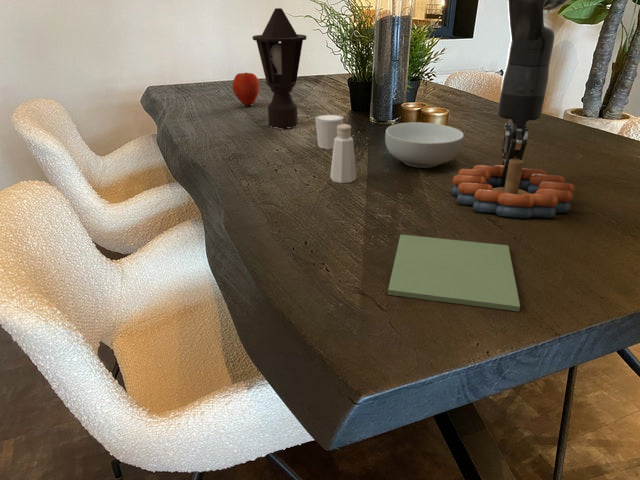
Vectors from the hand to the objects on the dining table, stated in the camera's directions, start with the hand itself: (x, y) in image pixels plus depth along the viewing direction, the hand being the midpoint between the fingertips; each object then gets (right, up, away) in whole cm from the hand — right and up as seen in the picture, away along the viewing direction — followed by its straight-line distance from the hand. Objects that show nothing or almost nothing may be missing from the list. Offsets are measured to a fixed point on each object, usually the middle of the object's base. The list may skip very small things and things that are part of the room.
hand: (506, 180), depth 96 cm
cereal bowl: (-14, +5, +13) cm, 20 cm away
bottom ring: (-2, -4, -6) cm, 7 cm away
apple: (-60, +32, +65) cm, 94 cm away
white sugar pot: (-34, +12, +25) cm, 44 cm away
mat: (-18, -16, -28) cm, 37 cm away
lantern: (-47, +21, +43) cm, 67 cm away
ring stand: (-2, -4, -6) cm, 7 cm away
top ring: (-2, -2, -7) cm, 7 cm away
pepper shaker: (-32, +1, +5) cm, 32 cm away
